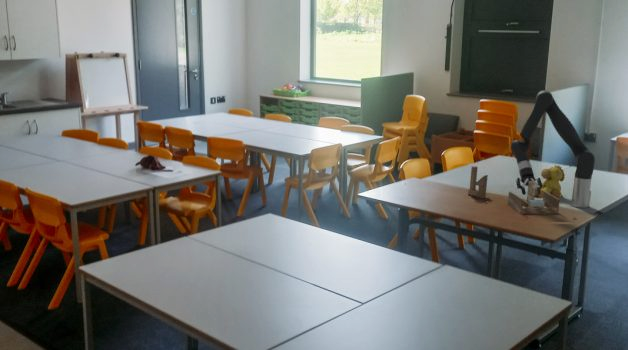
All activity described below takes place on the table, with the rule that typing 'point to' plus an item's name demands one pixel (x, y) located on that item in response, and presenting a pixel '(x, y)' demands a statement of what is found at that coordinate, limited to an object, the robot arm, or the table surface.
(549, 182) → the yellow stuffed toy
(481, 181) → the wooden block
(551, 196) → the brown wooden tray
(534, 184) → the tan wooden bar
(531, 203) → the grey offcut
